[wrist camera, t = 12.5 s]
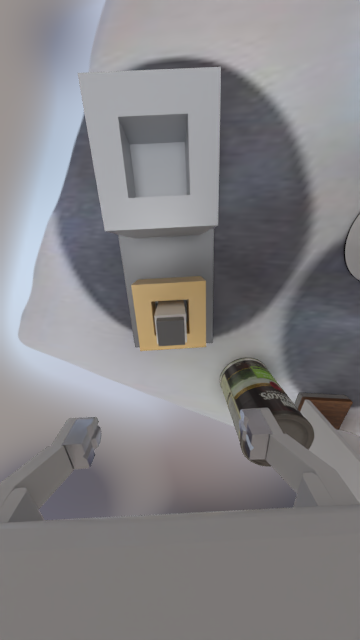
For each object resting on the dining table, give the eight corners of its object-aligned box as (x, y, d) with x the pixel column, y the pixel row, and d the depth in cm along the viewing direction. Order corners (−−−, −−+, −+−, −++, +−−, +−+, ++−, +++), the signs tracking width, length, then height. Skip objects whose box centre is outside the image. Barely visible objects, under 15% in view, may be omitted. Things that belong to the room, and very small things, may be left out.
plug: (182, 296, 31) (186, 317, 22) (183, 318, 33) (187, 346, 23) (159, 297, 31) (153, 319, 22) (161, 319, 33) (156, 348, 23)
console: (211, 138, 26) (251, 23, 13) (210, 337, 36) (231, 388, 23) (108, 143, 26) (39, 32, 12) (137, 342, 36) (116, 395, 23)
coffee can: (234, 350, 37) (268, 405, 24) (277, 368, 39) (330, 428, 26) (210, 389, 41) (228, 456, 27) (251, 404, 42) (286, 474, 29)
